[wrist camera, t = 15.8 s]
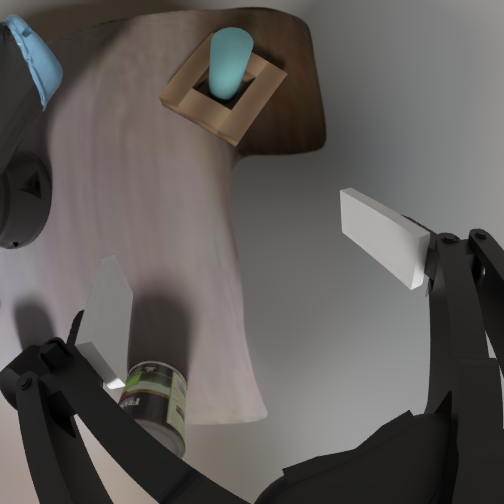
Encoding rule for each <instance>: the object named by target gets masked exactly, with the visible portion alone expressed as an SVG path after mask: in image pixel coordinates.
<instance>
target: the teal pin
mask: <svg viewBox="0 0 504 504" xmlns="http://www.w3.org/2000/svg"><path fill="white" fill-rule="evenodd" d="M252 49H253V39H252V37H251V36H250V34H249V33H247V32H246V31H244V30H242V29H240V28H234V27H229V28H224V29H221V30H219V31H218V32H216V33H215V34H214V35H213V37H212V39H211V49H210V66H209V87H208V94H209V97H210V98H211V99H212V100H214V101H216V102H218V103H219V104H228V103H230V102H232V101H233V100H234V99H235V98H236V96H237V93H238V90H239V87H240V84H241V81H242V78H243V75H244V72H245V69H246V66H247V63H248V60H249V57H250V54H251V51H252Z"/></svg>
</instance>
